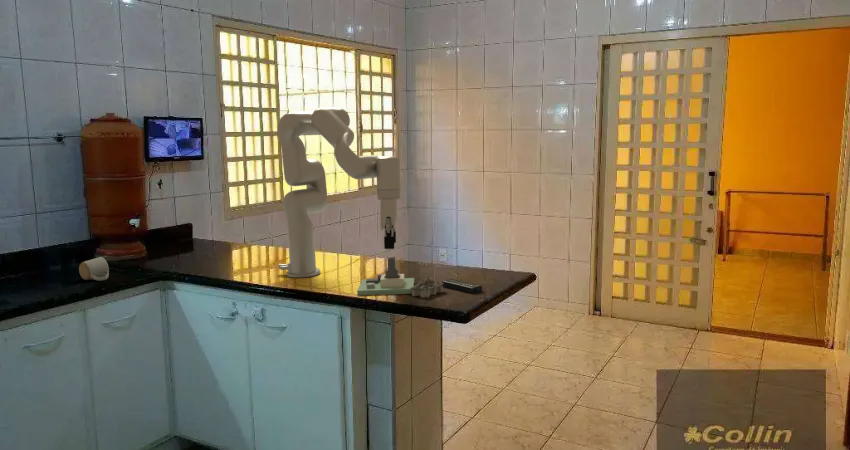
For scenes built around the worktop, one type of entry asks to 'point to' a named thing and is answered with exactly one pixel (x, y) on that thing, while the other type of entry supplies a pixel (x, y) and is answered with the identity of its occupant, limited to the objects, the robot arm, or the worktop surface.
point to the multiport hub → (462, 286)
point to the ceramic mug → (94, 269)
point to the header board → (386, 285)
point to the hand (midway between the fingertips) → (390, 245)
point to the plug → (392, 268)
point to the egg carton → (426, 288)
